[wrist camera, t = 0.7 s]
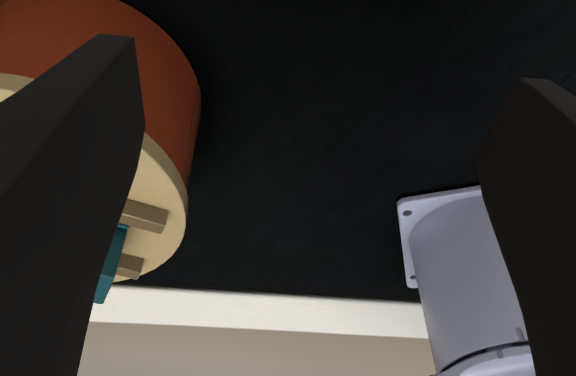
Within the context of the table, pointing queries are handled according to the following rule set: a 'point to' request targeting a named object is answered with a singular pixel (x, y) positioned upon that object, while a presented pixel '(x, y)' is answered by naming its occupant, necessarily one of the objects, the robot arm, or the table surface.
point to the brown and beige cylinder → (156, 101)
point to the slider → (111, 264)
